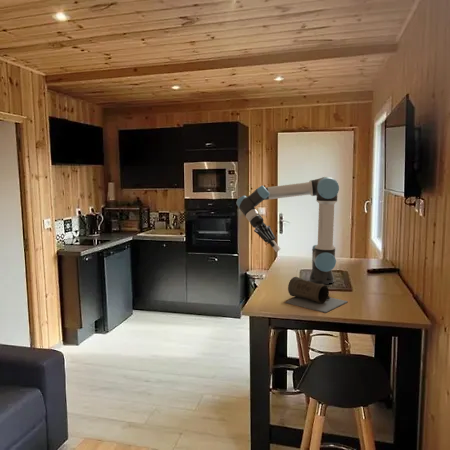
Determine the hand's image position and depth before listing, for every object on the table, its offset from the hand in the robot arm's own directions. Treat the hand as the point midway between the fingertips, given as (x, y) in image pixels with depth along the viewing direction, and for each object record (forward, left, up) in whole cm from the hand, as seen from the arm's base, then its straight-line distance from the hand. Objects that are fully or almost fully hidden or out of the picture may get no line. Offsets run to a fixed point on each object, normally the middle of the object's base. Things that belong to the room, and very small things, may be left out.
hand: (278, 250), depth 234 cm
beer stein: (-11, +1, -20) cm, 22 cm away
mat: (-23, +10, -25) cm, 35 cm away
